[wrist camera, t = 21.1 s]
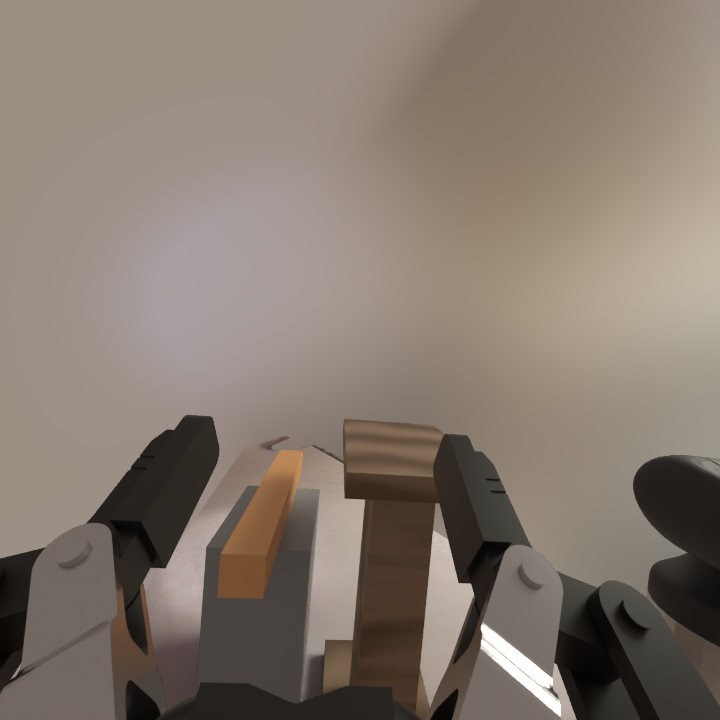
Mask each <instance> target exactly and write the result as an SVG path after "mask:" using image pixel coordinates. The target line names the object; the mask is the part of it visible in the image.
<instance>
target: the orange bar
mask: <svg viewBox="0 0 720 720" xmlns="http://www.w3.org/2000/svg"><path fill="white" fill-rule="evenodd" d="M302 457H303V451H292V450H291V451H290V450H280V452H279V453H278V455H277V457H276V459H275V460H274V462H273V464H272V466H271V467H270V469H269V471H268V472H267V474H266V476H265V478H264V479H263V481H262V483H261V485H260V486H259V488H258V490H257V491H256V493H255V495H254V497H253V498H252V500H251V502H250V504H249V505H248V507H247V509H246V511H245V512H244V514H243V516H242V517H241V519H240V521H239V523H238V524H237V526H236V528H235V530H234V531H233V533H232V535H231V537H230V538H229V540H228V542H227V543H226V545H225V547H224V549H223V550H222V552H221V554H220V568H219V582H218V596H217V598H257V599H263V597H264V594H265V591H266V587H267V584H268V581H269V577H270V574H271V571H272V567H273V564H274V561H275V558H276V554H277V551H278V548H279V544H280V541H281V538H282V534H283V531H284V528H285V525H286V521H287V518H288V515H289V511H290V508H291V505H292V502H293V498H294V495H295V492H296V488H297V485H298V482H299V478H300V475H301V469H302Z"/></svg>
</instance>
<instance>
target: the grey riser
mask: <svg viewBox="0 0 720 720" xmlns="http://www.w3.org/2000/svg"><path fill="white" fill-rule="evenodd" d="M258 488H259V486H248V487H247V488H246V490H245V491H244V492H243V494H242V495H241V497H240V498H239V500H238V501H237V503H236V504H235V506H234V507H233V509H232V510H231V512H230V513H229V515H228V516H227V518H226V519H225V521H224V522H223V523H222V525H221V526H220V528H219V529H218V531H217V532H216V534H215V535H214V537H213V538H212V540H211V541H210V543H209V544H208V546H207V547H206V560H205V575H204V589H203V603H202V617H201V631H200V645H199V659H198V673H197V687H196V695H197V692H198V689H199V686H200V683H201V682H209V683H248V684H251V685H253V686H255V687H258V688H260V689H262V690H264V691H267V692H269V693H271V694H273V695H276V696H278V697H280V698H282V699H285V700H287V701H289V702H292V703H300V698H301V690H302V681H303V672H304V664H305V655H306V646H307V637H308V627H309V615H310V603H311V591H312V579H313V567H314V555H315V542H316V530H317V518H318V506H319V494H320V490H318V489H299V488H296V492H295V495H294V498H293V502H292V505H291V508H290V511H289V515H288V518H287V521H286V525H285V528H284V531H283V534H282V538H281V541H280V544H279V548H278V551H277V554H276V558H275V561H274V564H273V567H272V571H271V574H270V577H269V581H268V584H267V587H266V591H265V594H264V597H263V599H257V598H217V596H218V582H219V568H220V554H221V552H222V550H223V549H224V547H225V545H226V543H227V542H228V540H229V538H230V537H231V535H232V533H233V531H234V530H235V528H236V526H237V524H238V523H239V521H240V519H241V517H242V516H243V514H244V512H245V511H246V509H247V507H248V505H249V504H250V502H251V500H252V498H253V497H254V495H255V493H256V491H257V490H258Z"/></svg>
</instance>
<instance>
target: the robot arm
mask: <svg viewBox="0 0 720 720" xmlns="http://www.w3.org/2000/svg"><path fill="white" fill-rule="evenodd" d="M218 457H219V444H218V439H217V435H216V430H215V426H214V421H213V418H212V417H210V416H197V415H186V416H185V417H183V419H182V420H181V421H180V423H179V424H178V426H177V427H176V428H175V430H166V431H164V432H163V433H162V434H160V435H159V436H158V437H156V438H155V439H153V440H152V441H151V442H150V443H149V445H148V446H147V447H146V449H145V450H144V451H143V452H142V454H141V455H140V458H138V459H137V460H136V461H135V463H134V464H133V465H132V466H131V470H129V471H128V472H127V473H126V474H125V476H124V477H123V478H122V479H121V481H120V482H119V483H118V484H117V486H116V487H115V488H114V490H113V491H112V492H111V493H110V495H109V496H108V497H107V499H106V500H105V501H104V502H103V504H102V505H101V506H100V508H99V509H98V510H97V511H96V513H95V514H94V516H92V518H91V519H90V520H89V521H88V522H87V523H86V524H84V525H80V526H78V527H75V528H73V529H71V530H69V531H67V532H65V533H63V534H62V535H60V536H59V537H57V538H56V539H55V540H53V541H52V542H51V543H50V544H49V545H48V546H47V547H45V548H42V549H38V550H34V551H30V552H25V553H21V554H17V555H13V556H10V557H5V558H1V559H0V720H422V719H421V718H420V717H419V716H417V715H416V714H415V713H414V712H413V711H412V710H410V709H409V708H407V707H406V706H404V705H403V704H401V703H400V702H397V701H395V700H393V696H392V687H365V686H345V687H342V688H339V689H336V690H334V691H331V692H328V693H325V694H323V695H320V696H317V697H314V698H312V699H309V700H306V701H303V702H300V703H292V702H289V701H287V700H285V699H282V698H280V697H278V696H276V695H273V694H271V693H269V692H267V691H264V690H262V689H260V688H258V687H255V686H253V685H251V684H248V683H209V682H201V683H200V686H199V689H198V692H197V695H196V696H194V697H191V698H189V699H187V700H185V701H183V702H181V703H179V704H177V705H175V706H174V707H172V708H171V709H169V710H168V711H167V706H166V700H165V693H164V688H163V684H162V680H161V676H160V673H159V670H158V667H157V665H156V661H155V657H154V652H153V645H152V638H151V631H150V624H149V617H148V610H147V604H146V597H145V590H144V584H143V581H144V579H145V577H146V575H147V573H148V571H149V569H150V568H166V566H167V564H168V562H169V560H170V558H171V556H172V554H173V552H174V550H175V548H176V546H177V544H178V542H179V540H180V538H181V536H182V533H183V531H184V529H185V527H186V525H187V523H188V521H189V519H190V517H191V515H192V513H193V511H194V509H195V507H196V505H197V503H198V501H199V499H200V497H201V495H202V493H203V491H204V489H205V487H206V485H207V483H208V481H209V479H210V476H211V475H212V473H213V470H214V468H215V466H216V464H217V461H218ZM433 477H434V482H435V487H436V491H437V495H438V499H439V503H440V507H441V511H442V516H443V519H444V524H445V528H446V532H447V536H448V541H449V545H450V549H451V553H452V557H453V561H454V565H455V570H456V574H457V578H458V582H459V583H471V584H472V588H473V592H474V595H475V596H474V597H473V599H472V602H471V605H470V608H469V610H468V613H467V616H466V619H465V621H464V624H463V627H462V630H461V633H460V635H459V638H458V641H457V644H456V647H455V649H454V652H453V655H452V658H451V660H450V663H449V666H448V668H447V670H446V672H445V674H444V676H443V678H442V680H441V682H440V685H439V687H438V689H437V692H436V694H435V696H434V699H433V702H432V704H431V707H430V710H429V713H428V715H427V718H426V720H560V713H561V710H560V701H559V697H558V695H557V694H556V693H555V692H554V690H553V687H552V676H553V668H554V663H555V664H557V666H558V669H559V671H560V674H561V677H562V680H563V683H564V685H565V688H566V691H567V694H568V696H569V699H570V702H571V705H572V708H573V710H574V713H575V716H576V719H577V720H720V459H714V458H705V457H697V456H688V455H671V456H663V457H658V458H655V459H652V460H650V461H649V462H646V463H645V464H644V465H642V466H641V467H640V468H639V469H638V471H637V473H636V475H635V477H634V481H633V490H634V494H635V498H636V501H637V503H638V505H639V507H640V509H641V511H642V512H643V514H644V516H645V517H646V518H647V520H648V521H649V522H650V523H651V525H652V526H653V527H654V528H655V529H656V530H657V531H658V532H659V533H660V534H661V535H662V536H664V537H665V538H666V539H668V540H669V541H670V542H672V543H673V544H674V545H676V546H678V547H679V548H681V549H683V550H684V551H686V552H688V553H686V554H684V555H681V556H677V557H674V558H669V559H665V560H661V561H659V562H657V563H655V564H654V565H653V566H652V568H651V570H650V574H649V580H648V589H647V597H645V596H643V595H642V594H641V593H640V592H638V591H637V590H635V589H634V588H632V587H631V586H628V585H627V584H624V583H622V582H618V581H606V582H605V583H603V584H602V585H601V586H599V587H598V588H597V587H594V586H592V585H589V584H587V583H584V582H582V581H579V580H576V579H574V578H571V577H569V576H566V575H564V574H562V573H560V572H558V571H556V570H555V568H554V567H553V565H552V564H551V563H550V562H549V561H548V560H547V559H546V558H545V557H544V556H543V555H541V554H540V553H539V552H538V551H536V550H534V549H533V548H532V546H531V545H530V543H529V541H528V539H527V537H526V534H525V532H524V530H523V528H522V526H521V524H520V522H519V519H518V517H517V515H516V513H515V510H514V508H513V506H512V504H511V502H510V500H509V498H508V495H507V494H506V493H505V492H506V491H505V489H504V487H503V484H502V482H500V478H499V476H498V473H497V471H496V469H495V467H494V465H493V464H492V462H491V461H490V460H489V459H488V458H487V457H486V456H485V455H484V454H483V453H482V452H476V451H474V449H473V447H472V444H471V442H470V439H469V438H468V436H466V435H453V434H444V435H443V437H442V440H441V443H440V446H439V449H438V452H437V455H436V458H435V461H434V465H433ZM21 662H22V663H21ZM20 664H21V667H20V670H19V672H18V674H17V676H16V677H15V678H13V679H11V678H12V676H13V675H14V673H15V672H16V670H17V668H18V667H19V665H20ZM10 679H11V680H10Z"/></svg>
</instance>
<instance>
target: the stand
mask: <svg viewBox="0 0 720 720" xmlns="http://www.w3.org/2000/svg"><path fill="white" fill-rule="evenodd" d="M443 435H444V434H443V433H442V432H441V431H440V430H439V429H437V428H436V427H435V426H434V425H422V424H407V423H392V422H377V421H365V420H350V419H344V428H343V451H344V452H343V453H344V491H345V498H346V499H365V508H364V519H363V531H362V542H361V554H360V565H359V576H358V588H357V599H356V611H355V622H354V634H353V640H325V652H324V670H323V689H322V695H323V694H325V693H328V692H331V691H334V690H336V689H339V688H342V687H345V686H365V687H392V696H393V700H395V701H397V702H400V703H401V704H403V705H404V706H406V707H407V708H409V709H410V710H412V711H413V712H414V713H415V714H416V715H417V716H419V717H420V718H421V719H422V720H426V718H427V715H428V713H429V710H430V707H429V703H428V699H427V695H426V691H425V687H424V683H423V679H422V675H421V671H420V661H421V650H422V640H423V629H424V618H425V608H426V597H427V587H428V576H429V566H430V555H431V545H432V534H433V523H434V513H435V503H439V499H438V495H437V491H436V487H435V482H434V477H433V465H434V461H435V458H436V455H437V452H438V449H439V446H440V443H441V440H442V437H443ZM500 482H501V480H500Z"/></svg>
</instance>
